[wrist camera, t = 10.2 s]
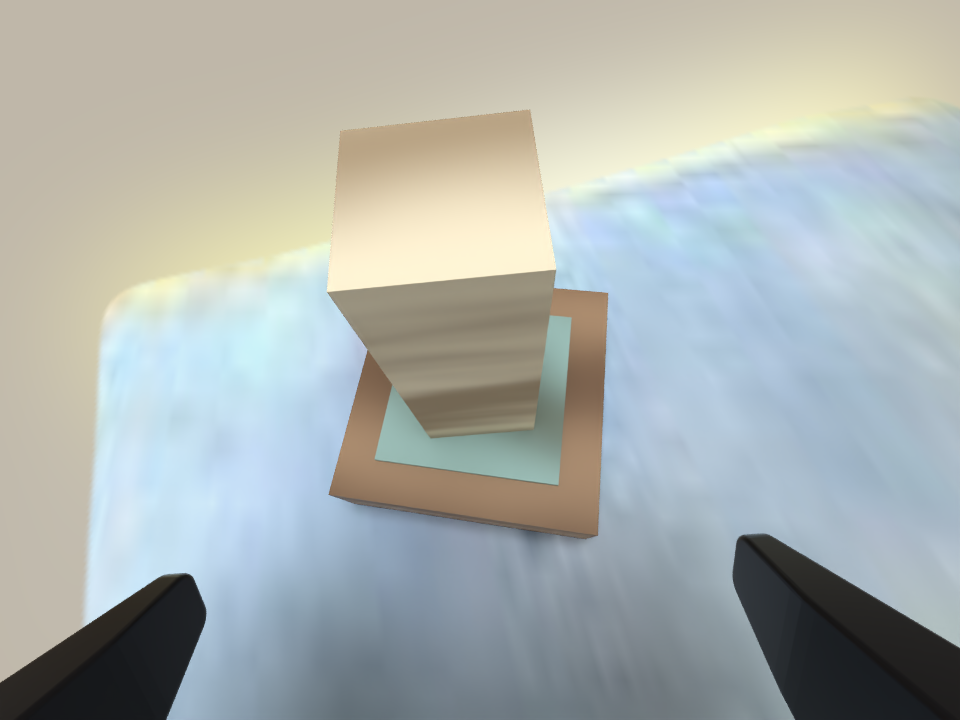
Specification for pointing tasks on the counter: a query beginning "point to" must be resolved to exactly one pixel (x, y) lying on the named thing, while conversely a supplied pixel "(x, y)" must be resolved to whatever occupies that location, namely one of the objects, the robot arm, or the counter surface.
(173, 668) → the robot arm
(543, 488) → the walnut plinth
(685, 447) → the counter surface
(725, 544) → the counter surface
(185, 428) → the counter surface
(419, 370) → the birch post
